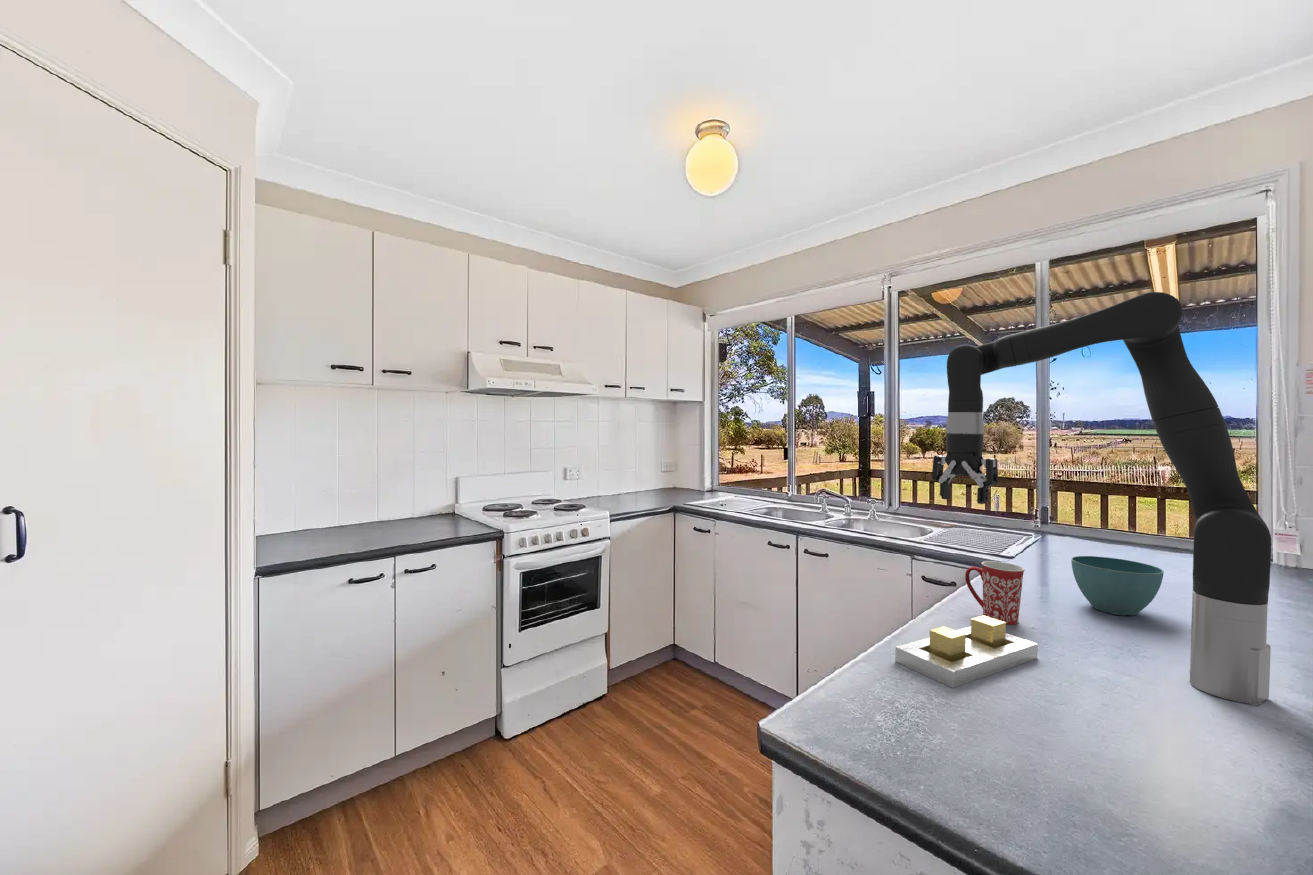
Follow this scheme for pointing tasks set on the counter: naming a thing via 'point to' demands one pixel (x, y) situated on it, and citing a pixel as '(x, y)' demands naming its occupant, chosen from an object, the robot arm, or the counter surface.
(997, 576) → the mug
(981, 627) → the seated brass block
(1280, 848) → the counter surface
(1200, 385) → the robot arm
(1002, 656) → the white socket board
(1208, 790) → the counter surface
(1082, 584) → the teal bowl
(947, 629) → the brass block
